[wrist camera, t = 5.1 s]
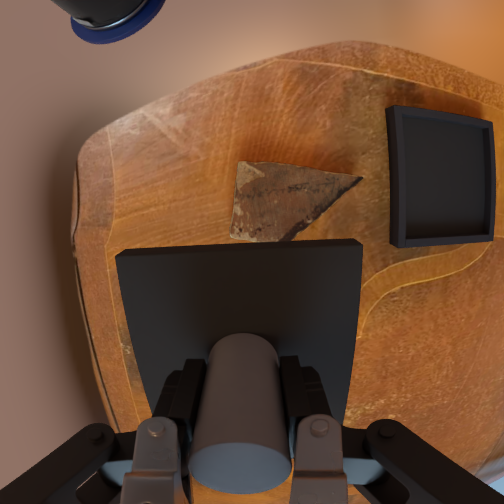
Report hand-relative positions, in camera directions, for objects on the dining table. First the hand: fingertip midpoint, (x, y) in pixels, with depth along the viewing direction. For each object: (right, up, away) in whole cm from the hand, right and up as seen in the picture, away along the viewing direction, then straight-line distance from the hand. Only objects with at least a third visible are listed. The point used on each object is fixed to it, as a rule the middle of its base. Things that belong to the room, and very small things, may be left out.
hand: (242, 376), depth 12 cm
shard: (+3, +11, +15) cm, 19 cm away
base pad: (+20, +12, +15) cm, 27 cm away
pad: (0, +1, +2) cm, 2 cm away
